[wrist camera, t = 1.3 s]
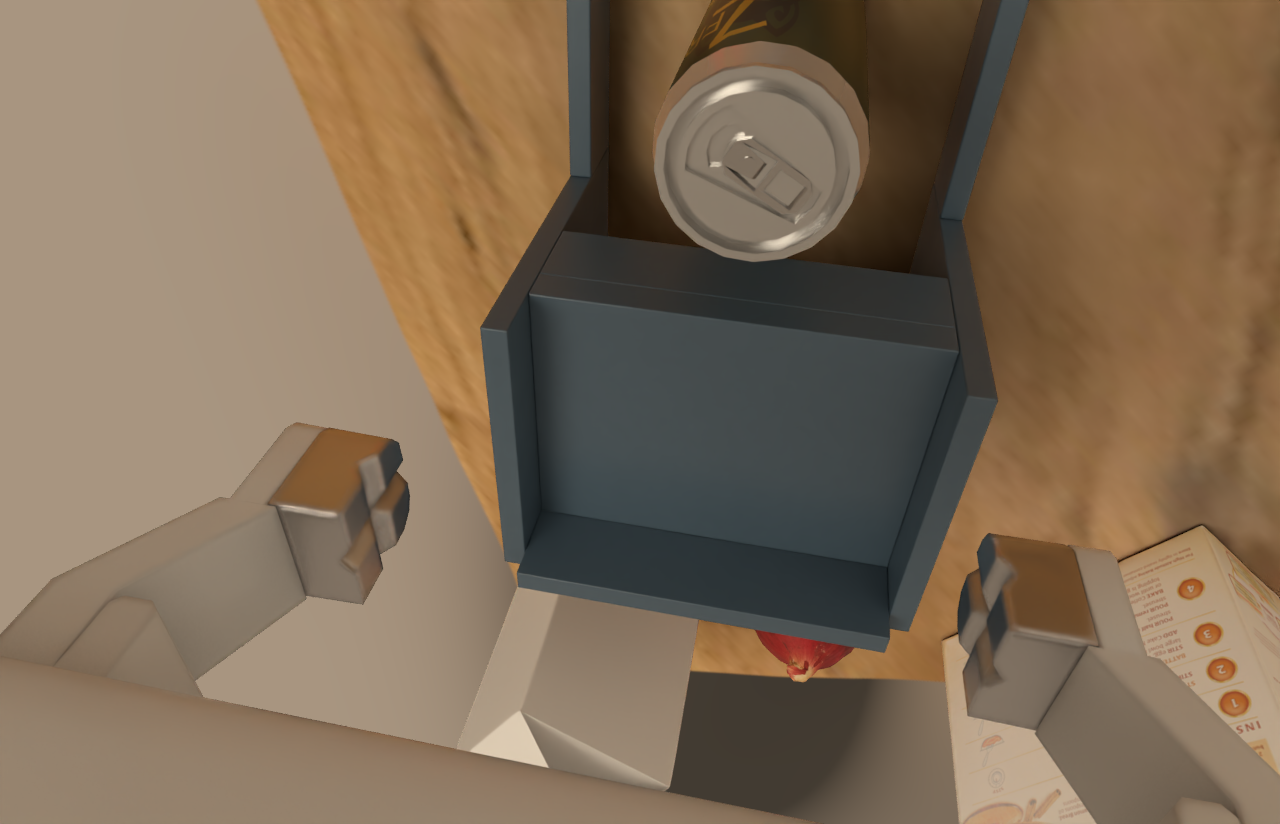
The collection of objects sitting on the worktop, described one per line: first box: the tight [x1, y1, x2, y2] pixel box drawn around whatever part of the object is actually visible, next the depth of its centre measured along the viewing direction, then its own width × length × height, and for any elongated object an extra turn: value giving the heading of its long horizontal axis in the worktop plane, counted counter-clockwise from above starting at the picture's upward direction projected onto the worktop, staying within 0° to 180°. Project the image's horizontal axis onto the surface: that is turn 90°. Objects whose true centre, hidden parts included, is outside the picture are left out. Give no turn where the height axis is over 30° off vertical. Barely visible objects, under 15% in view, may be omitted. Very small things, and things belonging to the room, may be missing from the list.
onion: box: [755, 630, 854, 682], centre depth 43 cm, size 6×6×8 cm
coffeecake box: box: [942, 526, 1280, 824], centre depth 38 cm, size 15×7×20 cm, turn 141°
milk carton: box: [456, 587, 699, 791], centre depth 40 cm, size 7×7×19 cm
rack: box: [480, 0, 1029, 653], centre depth 28 cm, size 20×14×14 cm
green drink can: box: [652, 0, 870, 262], centre depth 25 cm, size 5×5×12 cm
